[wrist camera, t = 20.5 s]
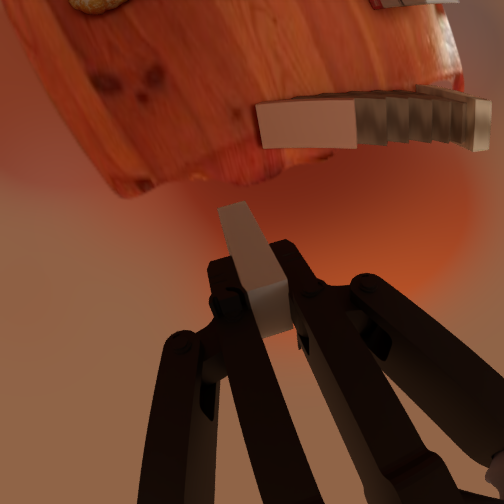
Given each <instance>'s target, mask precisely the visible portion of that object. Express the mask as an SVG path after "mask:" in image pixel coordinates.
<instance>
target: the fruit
mask: <svg viewBox="0 0 504 504" xmlns="http://www.w3.org/2000/svg"><path fill="white" fill-rule="evenodd" d="M68 1H69V3H70V4H71V5H72V7H73V8H74V9H76V10H82V11H83V12H84V13H86V14H103V13H104V11H106V10H110V9H113V8H116V7H118V6H119V5H121V4H122V3H124V2H127V1H129V0H68Z"/></svg>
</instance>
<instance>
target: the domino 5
mask: <svg viewBox="0 0 504 504" xmlns="http://www.w3.org/2000/svg"><path fill="white" fill-rule="evenodd" d="M372 92H378V93H390V94H400V95H408V96H416V97H423V98H430V99H432V106H433V120H432V140H435V141H439V142H444V143H449V142H450V139H451V101H449V100H444V99H439V98H434V97H428V96H422V95H415V94H408V93H401V92H392V91H383V90H374V91H372Z"/></svg>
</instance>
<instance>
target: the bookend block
mask: <svg viewBox="0 0 504 504" xmlns="http://www.w3.org/2000/svg"><path fill="white" fill-rule="evenodd" d="M416 92H417V93H423V94H428V95H433V96H438V97H443V98H448V99H452V100H456V101H461V102H465V103H467V114H466V136H465V142H464V143H462V144H460V143H457V142H453V141H450V142H453V143H455V144H457V145H460V146H462V147H464V148H466V149H468V150H470V151H472V152H475V151H483V150H489V141H490V129H491V109H492V101H490V100H487V99H484V98H480V97H477V96H473V95H470V94H466V93H463V92H459V91H455V90H451V89H447V88H443V87H438V86H432V85H416Z"/></svg>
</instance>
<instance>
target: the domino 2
mask: <svg viewBox="0 0 504 504" xmlns="http://www.w3.org/2000/svg"><path fill="white" fill-rule="evenodd" d="M311 98H354V100H355V112H356V127H357V144H371V145H383V146H387V142H388V137H387V105H386V97H373V96H341V95H328V96H297V97H294V98H292V99H311Z"/></svg>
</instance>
